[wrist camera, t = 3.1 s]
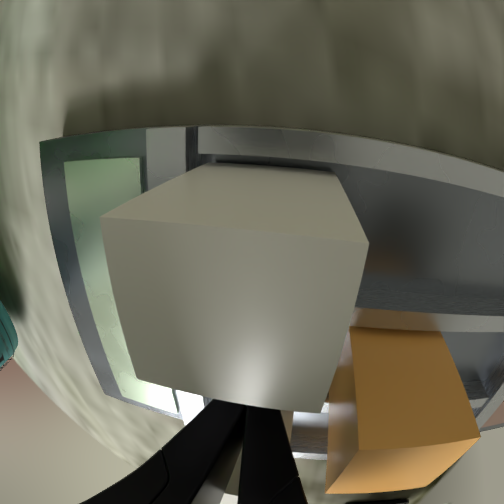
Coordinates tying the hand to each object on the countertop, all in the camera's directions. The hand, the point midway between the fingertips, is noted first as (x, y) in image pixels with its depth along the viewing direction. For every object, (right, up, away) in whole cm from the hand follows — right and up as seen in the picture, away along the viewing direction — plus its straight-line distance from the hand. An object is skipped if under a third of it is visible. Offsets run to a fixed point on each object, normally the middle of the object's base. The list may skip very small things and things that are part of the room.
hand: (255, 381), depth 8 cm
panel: (+4, +1, +2) cm, 5 cm away
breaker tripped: (+4, 0, +1) cm, 4 cm away
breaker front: (0, +4, 0) cm, 4 cm away
